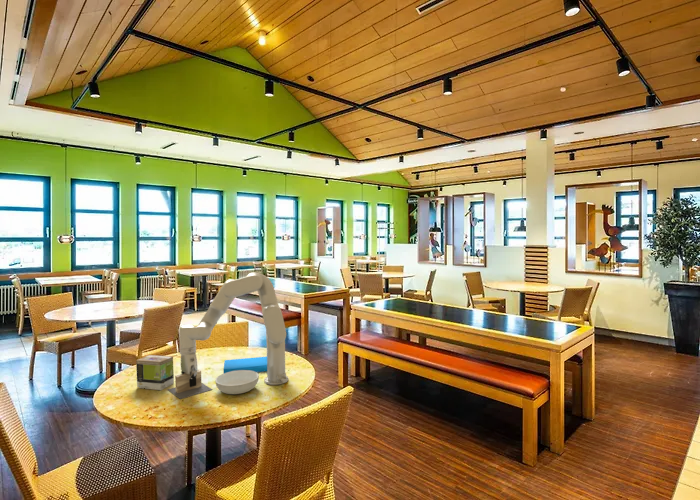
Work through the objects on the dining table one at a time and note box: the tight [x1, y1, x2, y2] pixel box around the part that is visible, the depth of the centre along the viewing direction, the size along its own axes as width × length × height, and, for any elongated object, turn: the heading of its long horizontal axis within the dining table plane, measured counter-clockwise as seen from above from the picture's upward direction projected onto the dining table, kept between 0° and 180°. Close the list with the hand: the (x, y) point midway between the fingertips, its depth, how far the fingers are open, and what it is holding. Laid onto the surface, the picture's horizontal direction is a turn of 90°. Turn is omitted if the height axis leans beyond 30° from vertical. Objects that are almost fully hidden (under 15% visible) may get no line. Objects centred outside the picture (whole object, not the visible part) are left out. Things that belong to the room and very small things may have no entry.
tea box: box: [135, 354, 175, 391], centre depth 210 cm, size 15×10×15 cm
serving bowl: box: [214, 370, 259, 395], centre depth 203 cm, size 21×21×7 cm
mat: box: [167, 382, 213, 400], centre depth 203 cm, size 16×16×1 cm
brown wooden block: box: [174, 369, 202, 393], centre depth 204 cm, size 3×12×8 cm, turn 134°
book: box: [223, 356, 267, 374], centre depth 235 cm, size 17×4×25 cm
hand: (188, 383), depth 204 cm, fingers open, 9 cm apart
